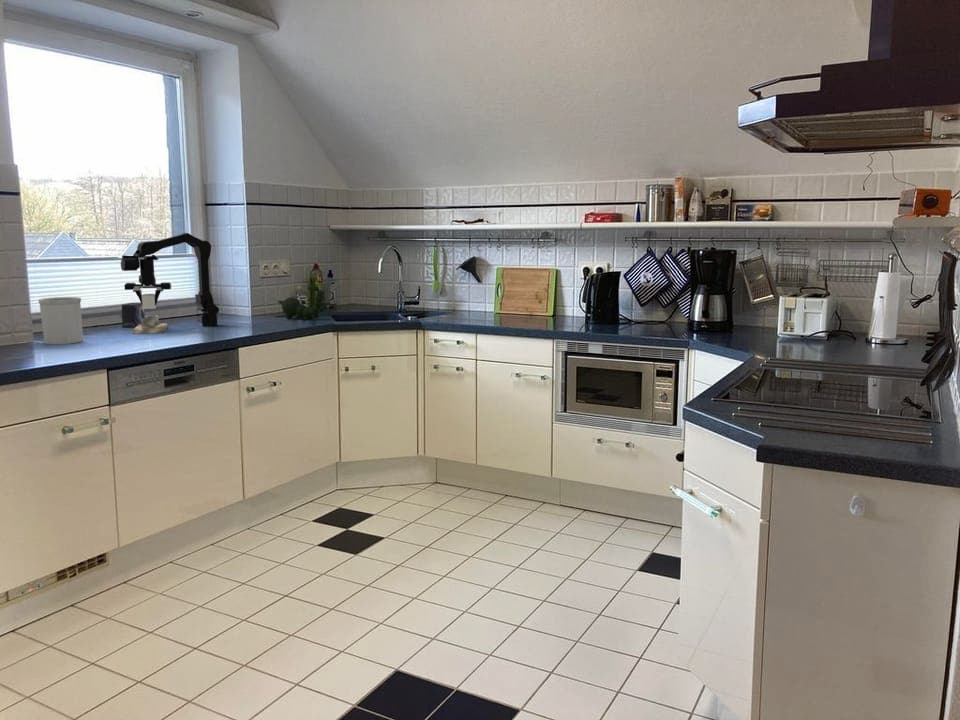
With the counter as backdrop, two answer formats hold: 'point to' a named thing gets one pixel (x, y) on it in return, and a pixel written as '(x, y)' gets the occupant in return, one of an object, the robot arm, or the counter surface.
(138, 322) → the small box
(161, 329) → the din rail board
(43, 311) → the utensil holder
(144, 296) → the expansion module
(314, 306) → the toy figurine
